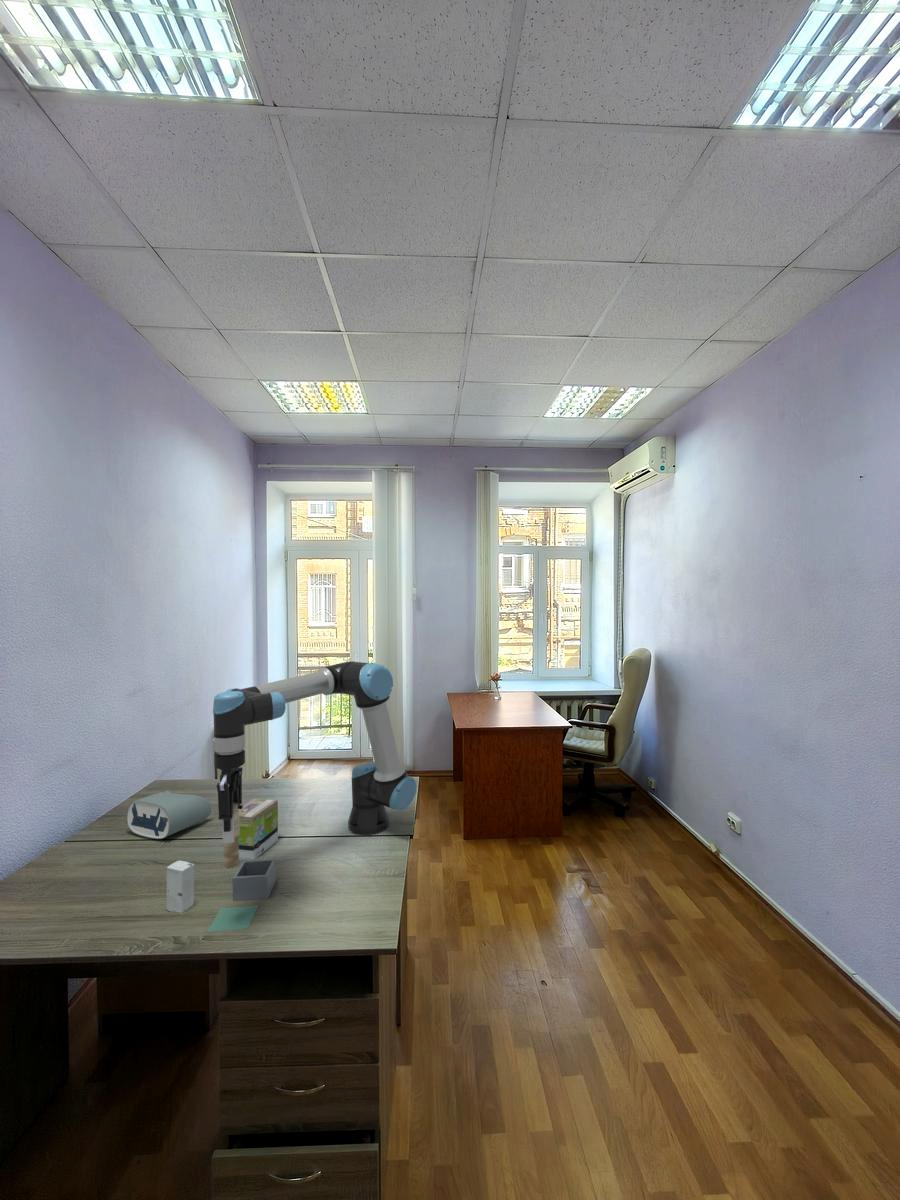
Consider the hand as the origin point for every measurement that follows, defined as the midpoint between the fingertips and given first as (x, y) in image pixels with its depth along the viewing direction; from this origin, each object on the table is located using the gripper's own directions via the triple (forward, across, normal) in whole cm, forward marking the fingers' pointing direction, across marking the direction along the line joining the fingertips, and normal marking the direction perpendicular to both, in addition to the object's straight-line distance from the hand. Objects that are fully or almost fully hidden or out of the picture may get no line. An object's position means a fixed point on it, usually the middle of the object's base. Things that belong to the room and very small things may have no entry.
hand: (231, 838), depth 138 cm
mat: (+22, 0, 0) cm, 22 cm away
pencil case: (+22, -61, -42) cm, 78 cm away
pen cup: (+22, -13, +2) cm, 26 cm away
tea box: (+22, -40, -6) cm, 46 cm away
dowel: (+7, 0, 0) cm, 7 cm away
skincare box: (+22, -7, -16) cm, 29 cm away
